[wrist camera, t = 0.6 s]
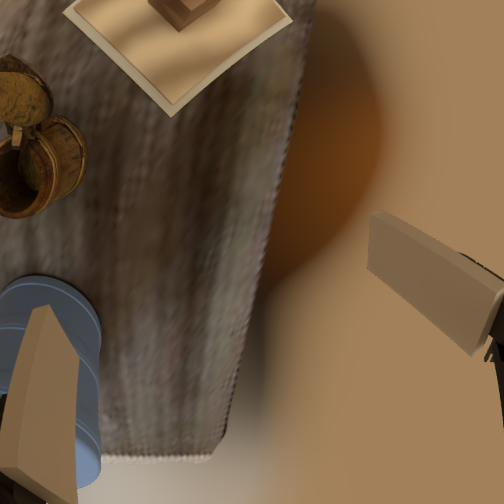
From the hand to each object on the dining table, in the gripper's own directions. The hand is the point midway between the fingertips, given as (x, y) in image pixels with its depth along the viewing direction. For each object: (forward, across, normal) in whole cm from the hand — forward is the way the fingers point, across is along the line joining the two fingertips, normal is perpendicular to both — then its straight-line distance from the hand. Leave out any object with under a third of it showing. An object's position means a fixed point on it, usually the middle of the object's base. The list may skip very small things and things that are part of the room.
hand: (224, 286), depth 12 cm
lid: (+25, +4, +17) cm, 30 cm away
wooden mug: (+25, -11, +6) cm, 28 cm away
